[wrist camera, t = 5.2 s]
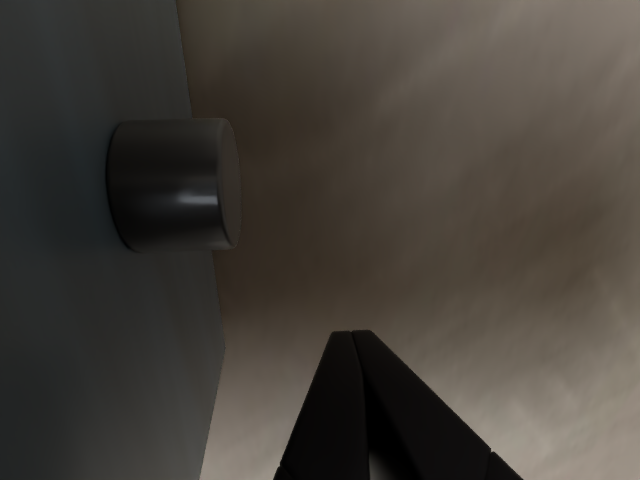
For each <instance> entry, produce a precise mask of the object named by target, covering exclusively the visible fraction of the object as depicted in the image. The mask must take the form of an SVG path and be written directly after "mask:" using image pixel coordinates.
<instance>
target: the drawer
mask: <svg viewBox="0 0 640 480" xmlns="http://www.w3.org/2000/svg"><path fill="white" fill-rule="evenodd" d="M241 212H242V201H241V179H240V167H239V159H238V152H237V146H236V141H235V136H234V133H233V130H232V127H231V125H230V123H229V121H228V120H226V119H224V118H200V119H193V118H192V111H191V104H190V97H189V91H188V84H187V77H186V70H185V63H184V56H183V49H182V42H181V35H180V28H179V21H178V14H177V7H176V0H0V480H199V478H200V473H201V468H202V464H203V459H204V454H205V449H206V444H207V439H208V434H209V429H210V424H211V419H212V414H213V409H214V404H215V399H216V394H217V389H218V384H219V379H220V374H221V369H222V364H223V359H224V354H225V349H226V347H225V340H224V333H223V326H222V319H221V312H220V305H219V299H218V292H217V285H216V278H215V271H214V264H213V257H212V250H227V249H233V248H235V247H236V245H237V243H238V240H239V236H240V229H241Z"/></svg>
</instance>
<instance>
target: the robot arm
mask: <svg viewBox="0 0 640 480" xmlns="http://www.w3.org/2000/svg"><path fill="white" fill-rule="evenodd" d="M490 453H491V454H490ZM273 480H523V479H522V478H521V477H520V476H519V475H518V474H517V473H516V472H515V471H514V470H513V469H512V468H511V467H510V466H509V465H508V464H507V463H506V462H505V461H504V460H503V459H502V458H501V457H500V456H499V455H498V454H497V453H496V452H491V448H490V447H489V446H488V445H487V444H486V443H485V442H484V441H483V440H482V439H481V438H480V437H479V436H478V435H477V434H476V433H475V432H474V431H473V430H472V429H471V428H470V427H469V426H468V425H467V424H466V423H465V422H464V421H463V420H462V419H461V418H460V417H459V416H458V415H457V414H456V413H455V412H454V411H453V410H452V409H451V408H450V407H449V406H448V405H446V404H445V403H444V402H443V401H442V400H441V399H440V398H439V397H438V396H437V395H436V394H435V393H434V392H433V391H432V390H431V389H430V388H429V387H428V386H427V385H426V384H425V383H424V382H423V381H422V380H421V379H420V378H419V377H418V376H417V375H416V374H415V373H414V372H413V371H412V370H411V369H410V368H409V367H408V366H407V365H406V364H405V363H404V362H403V361H402V360H401V359H400V358H399V357H398V356H397V355H396V354H395V353H394V352H393V351H392V350H391V349H390V348H389V347H388V346H387V345H386V344H384V343H383V342H382V341H381V340H380V339H379V338H378V337H377V336H376V335H375V334H374V333H373V332H372V331H371V330H353V331H334V332H332V333H331V334H330V337H329V339H328V342H327V344H326V347H325V350H324V352H323V355H322V357H321V360H320V362H319V365H318V367H317V370H316V372H315V375H314V377H313V380H312V383H311V385H310V388H309V390H308V393H307V395H306V398H305V400H304V403H303V405H302V408H301V411H300V413H299V416H298V418H297V421H296V423H295V426H294V428H293V431H292V433H291V436H290V439H289V441H288V444H287V446H286V449H285V451H284V454H283V456H282V459H281V461H280V466H279V467H278V468H277V471H276V473H275V476H274V478H273Z"/></svg>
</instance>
